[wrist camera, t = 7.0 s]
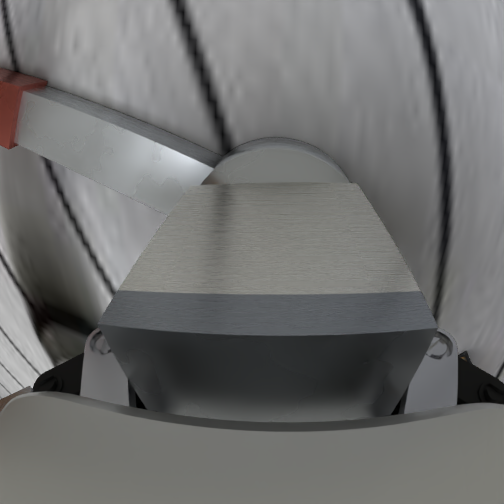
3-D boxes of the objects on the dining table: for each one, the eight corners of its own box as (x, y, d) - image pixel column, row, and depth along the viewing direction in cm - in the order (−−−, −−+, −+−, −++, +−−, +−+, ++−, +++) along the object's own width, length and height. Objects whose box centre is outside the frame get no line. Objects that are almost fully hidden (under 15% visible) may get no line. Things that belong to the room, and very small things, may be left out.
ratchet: (384, 190, 14) (433, 254, 9) (302, 298, 18) (306, 382, 13) (-12, 33, 9) (-79, 44, 4) (-31, 137, 13) (-89, 167, 8)
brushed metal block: (356, 183, 10) (438, 327, 4) (341, 309, 13) (363, 453, 7) (190, 185, 11) (97, 323, 5) (211, 309, 14) (175, 449, 8)
